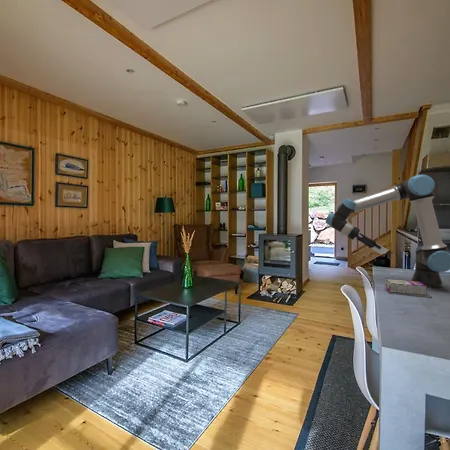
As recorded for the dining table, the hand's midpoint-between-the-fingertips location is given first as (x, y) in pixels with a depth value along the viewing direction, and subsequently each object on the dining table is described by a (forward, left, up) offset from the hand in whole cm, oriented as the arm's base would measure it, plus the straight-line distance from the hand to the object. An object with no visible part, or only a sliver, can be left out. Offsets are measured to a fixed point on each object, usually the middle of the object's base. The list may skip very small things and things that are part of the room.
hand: (384, 252), depth 158 cm
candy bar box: (-17, +7, -17) cm, 25 cm away
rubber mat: (-10, +7, -20) cm, 23 cm away
